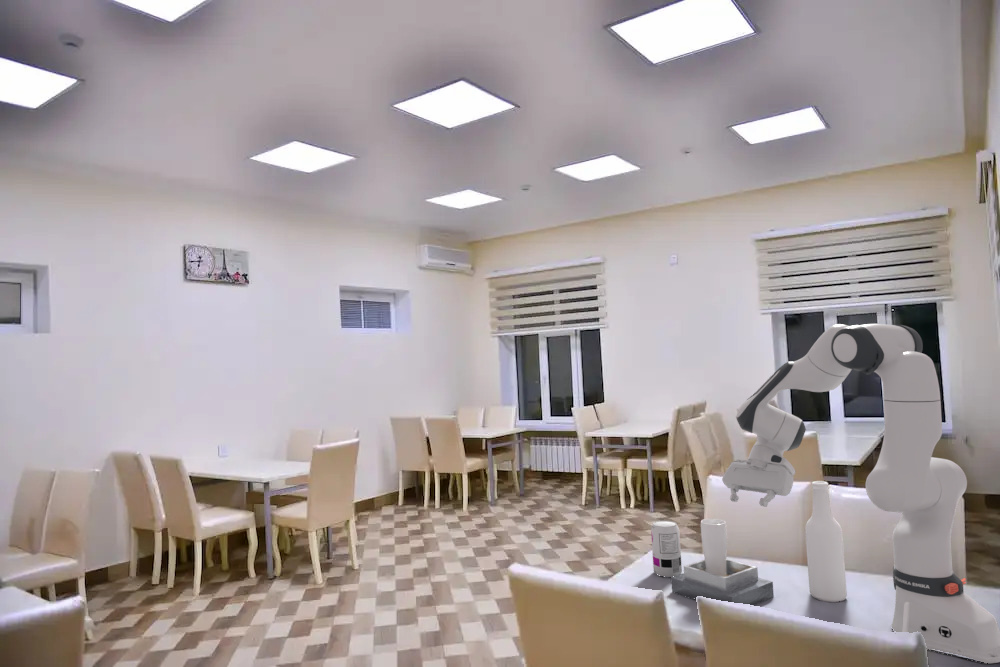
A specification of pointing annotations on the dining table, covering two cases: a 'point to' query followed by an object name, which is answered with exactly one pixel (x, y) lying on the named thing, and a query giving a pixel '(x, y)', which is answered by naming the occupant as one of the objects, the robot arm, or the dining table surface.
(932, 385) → the robot arm
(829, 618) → the dining table surface
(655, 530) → the supplement can
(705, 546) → the drinking glass
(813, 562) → the white bottle
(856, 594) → the dining table surface
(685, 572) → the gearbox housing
